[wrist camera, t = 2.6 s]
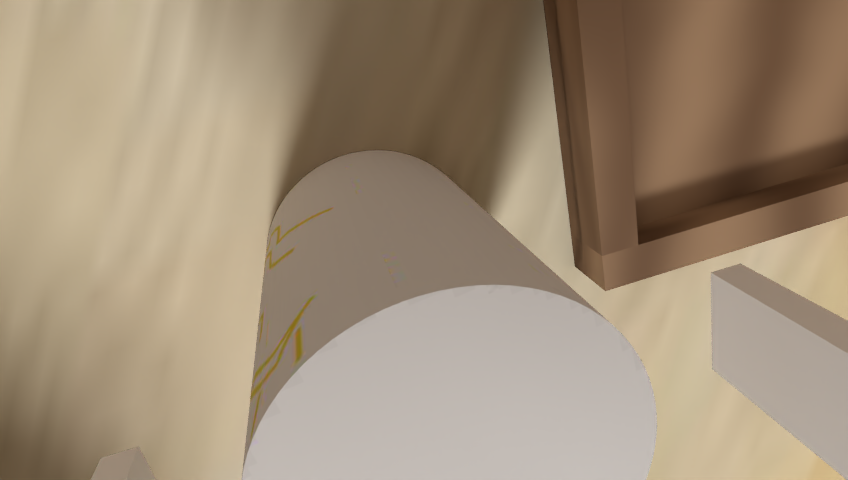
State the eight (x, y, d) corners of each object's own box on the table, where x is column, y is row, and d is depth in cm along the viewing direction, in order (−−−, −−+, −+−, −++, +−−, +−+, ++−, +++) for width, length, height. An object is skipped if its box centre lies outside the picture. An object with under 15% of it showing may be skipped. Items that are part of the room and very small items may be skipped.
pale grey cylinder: (250, 161, 20) (198, 325, 9) (474, 140, 21) (677, 255, 10) (282, 362, 22) (276, 679, 11) (478, 331, 24) (639, 583, 13)
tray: (574, 266, 24) (605, 291, 22) (521, -182, 18) (555, -214, 16) (894, 169, 26) (953, 182, 24) (944, -262, 20) (1029, -300, 18)
